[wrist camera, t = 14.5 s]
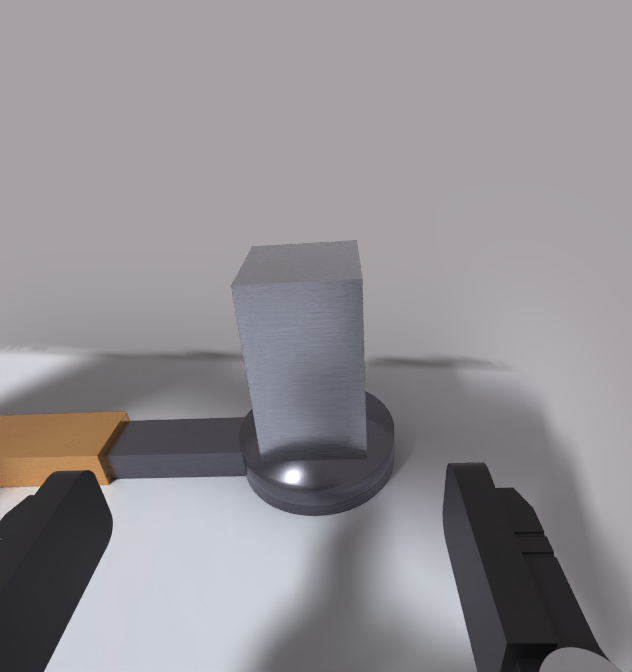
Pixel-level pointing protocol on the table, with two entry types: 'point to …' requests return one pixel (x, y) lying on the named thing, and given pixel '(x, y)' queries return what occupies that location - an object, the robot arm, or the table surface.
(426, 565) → the table surface
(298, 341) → the brushed metal block
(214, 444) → the ratchet
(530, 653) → the robot arm
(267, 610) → the table surface
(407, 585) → the table surface
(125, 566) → the table surface
